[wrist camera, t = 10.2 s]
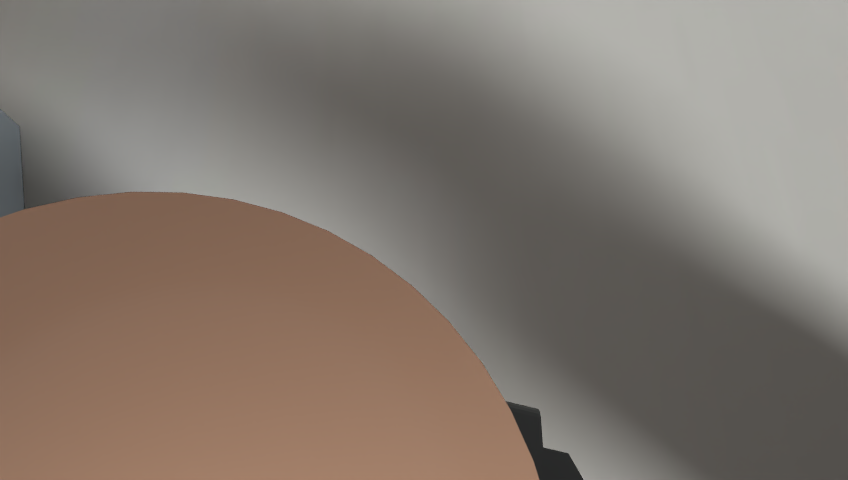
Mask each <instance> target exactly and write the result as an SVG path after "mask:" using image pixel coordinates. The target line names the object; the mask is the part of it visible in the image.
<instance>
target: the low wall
mask: <svg viewBox="0 0 848 480" xmlns="http://www.w3.org/2000/svg"><path fill="white" fill-rule="evenodd" d="M21 210H24V194H23V177H22V161H21V144H20V127H19V126H18V125H17V124H16V123H15V122H14V121H13V120H12V119H11V118H10V117H9V116H7V115H6V114H5V113H4V112H3V111H2V110H1V109H0V217H3V216H6V215H9V214H12V213H15V212H18V211H21Z"/></svg>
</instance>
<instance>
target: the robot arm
mask: <svg viewBox="0 0 848 480" xmlns="http://www.w3.org/2000/svg"><path fill="white" fill-rule="evenodd" d="M506 403H507V405H508V406H509V408H510V410H511V412H512V414H513V417H514V419H515V421H516V423H517V425H518V428H519V430H520V432H521V434H522V436H523V439H524V441H525V443H526V445H527V448H528V450H529V452H530V454H531V456H532V459H533V461H534V464H535V467H536V471H537V474H538V477H539V480H583V478H582V476H581V475H580V473H579V471H578V469H577V468H576V466H575V464H574V463H573V461H572V459H571V457H570V456H569V454H568V453H564V452H560V451H556V450H551V449H547V448H543V442H542V429H541V416H540V411H539V410H538V409H536V408H532V407H527V406H523V405H519V404H515V403H511V402H507V401H506Z"/></svg>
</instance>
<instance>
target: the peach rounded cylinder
mask: <svg viewBox="0 0 848 480" xmlns="http://www.w3.org/2000/svg"><path fill="white" fill-rule="evenodd" d="M0 480H539V477H538V474H537V471H536V467H535V464H534V461H533V459H532V456H531V454H530V452H529V450H528V448H527V445H526V443H525V441H524V439H523V436H522V434H521V432H520V430H519V428H518V425H517V423H516V421H515V419H514V417H513V414H512V412H511V410H510V408H509V406H508V405H507V403H506V401H505V400H504V398H503V397H502V395H501V393H500V392H499V390H498V388H497V387H496V385H495V383H494V382H493V380H492V378H491V377H490V375H489V374H488V372H487V370H486V369H485V367H484V365H483V364H482V362H481V361H480V360H479V358H478V357H477V356H476V355H475V353H474V352H473V351H472V350H471V348H470V347H469V346H468V345H467V343H466V342H465V341H464V340H463V338H462V337H461V336H460V335H459V333H458V332H457V331H456V330H455V328H454V327H453V326H452V325H451V323H450V322H449V321H448V320H447V319H446V318H445V317H444V316H443V315H442V314H441V313H440V312H439V311H438V310H437V309H436V308H435V307H434V306H432V305H431V304H430V303H429V302H428V301H427V300H426V299H425V298H424V297H423V296H422V295H421V294H420V293H419V292H418V291H417V290H416V289H415V288H414V287H413V286H412V285H410V284H409V283H408V282H406V281H405V280H404V279H402V278H401V277H400V276H398V275H397V274H396V273H394V272H393V271H392V270H390V269H389V268H388V267H386V266H385V265H384V264H382V263H381V262H380V261H378V260H377V259H376V258H374V257H373V256H372V255H370V254H368V253H366V252H364V251H363V250H361V249H359V248H357V247H356V246H354V245H352V244H350V243H348V242H347V241H345V240H343V239H341V238H340V237H338V236H336V235H334V234H332V233H331V232H329V231H327V230H324V229H322V228H319V227H317V226H314V225H312V224H309V223H307V222H304V221H302V220H300V219H297V218H295V217H292V216H290V215H287V214H285V213H282V212H279V211H275V210H271V209H267V208H264V207H260V206H256V205H252V204H248V203H245V202H241V201H237V200H233V199H226V198H219V197H211V196H204V195H196V194H189V193H172V192H125V193H116V194H106V195H96V196H87V197H78V198H73V199H68V200H64V201H59V202H55V203H50V204H46V205H41V206H37V207H32V208H28V209H24V210H21V211H18V212H15V213H12V214H9V215H6V216H3V217H0Z"/></svg>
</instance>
